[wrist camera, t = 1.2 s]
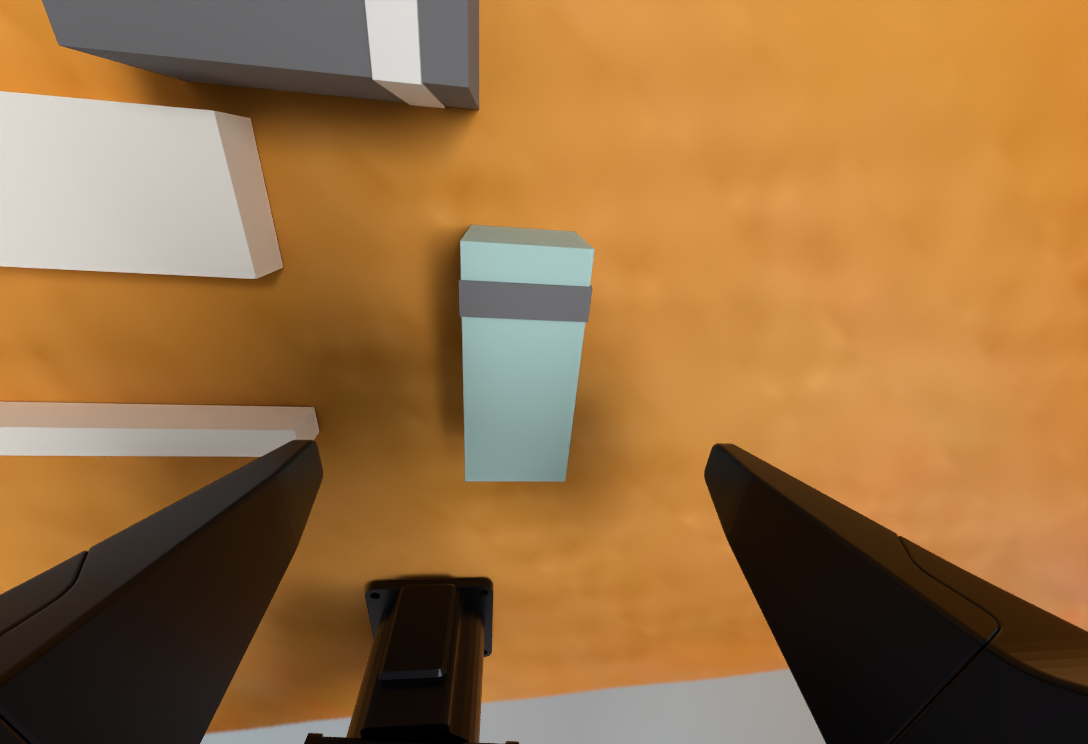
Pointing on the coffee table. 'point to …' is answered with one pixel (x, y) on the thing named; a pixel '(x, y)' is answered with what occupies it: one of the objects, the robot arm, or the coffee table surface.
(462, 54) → the dark grey block
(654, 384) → the coffee table surface
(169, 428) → the slot rack
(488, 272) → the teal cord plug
